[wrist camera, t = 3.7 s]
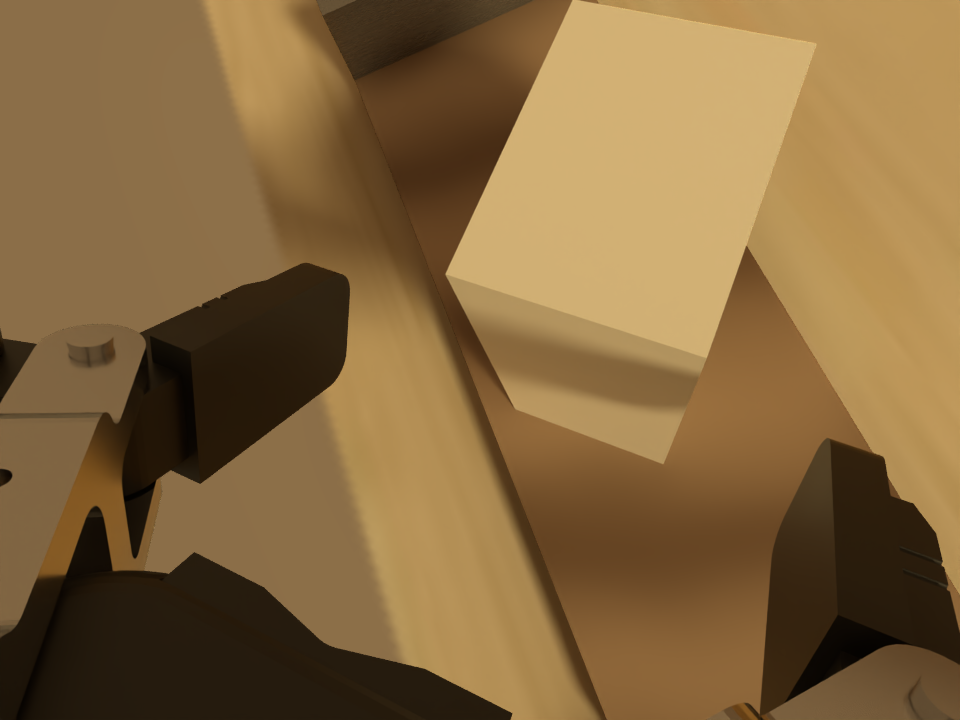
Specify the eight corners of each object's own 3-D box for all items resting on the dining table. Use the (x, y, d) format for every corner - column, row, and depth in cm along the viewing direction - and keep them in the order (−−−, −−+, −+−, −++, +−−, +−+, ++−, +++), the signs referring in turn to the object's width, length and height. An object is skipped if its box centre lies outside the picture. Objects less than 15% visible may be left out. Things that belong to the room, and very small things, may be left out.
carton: (663, 464, 19) (707, 357, 10) (515, 409, 20) (445, 274, 11) (732, 268, 20) (819, 34, 12) (590, 228, 21) (576, -9, 13)
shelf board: (362, 92, 27) (348, 64, 25) (576, -3, 26) (574, -36, 25) (624, 754, 18) (626, 767, 16) (950, 626, 17) (980, 629, 16)
